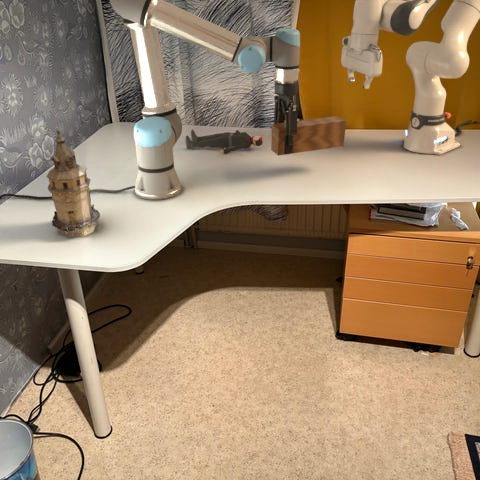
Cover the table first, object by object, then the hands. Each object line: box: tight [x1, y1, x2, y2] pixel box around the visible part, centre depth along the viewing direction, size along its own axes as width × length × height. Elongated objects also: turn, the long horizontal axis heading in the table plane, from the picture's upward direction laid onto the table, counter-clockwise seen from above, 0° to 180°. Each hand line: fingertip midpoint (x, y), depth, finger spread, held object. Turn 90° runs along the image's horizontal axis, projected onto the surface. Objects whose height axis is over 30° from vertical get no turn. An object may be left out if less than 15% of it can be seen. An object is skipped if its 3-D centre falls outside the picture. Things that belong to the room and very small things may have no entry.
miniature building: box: [46, 129, 101, 237], centre depth 148 cm, size 13×14×30 cm
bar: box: [270, 115, 347, 157], centre depth 182 cm, size 25×6×9 cm, turn 110°
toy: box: [185, 129, 264, 156], centre depth 213 cm, size 26×6×30 cm
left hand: (284, 150), depth 182 cm, fingers closed on bar, 6 cm apart
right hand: (358, 85), depth 182 cm, fingers open, 8 cm apart
